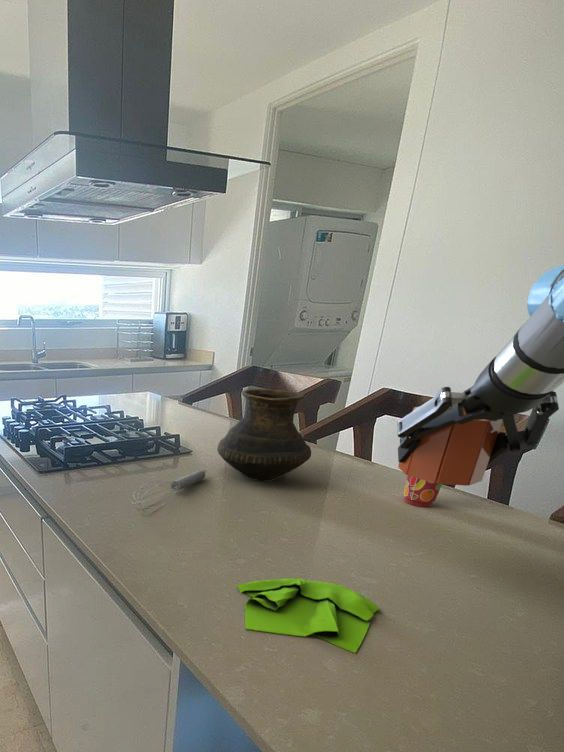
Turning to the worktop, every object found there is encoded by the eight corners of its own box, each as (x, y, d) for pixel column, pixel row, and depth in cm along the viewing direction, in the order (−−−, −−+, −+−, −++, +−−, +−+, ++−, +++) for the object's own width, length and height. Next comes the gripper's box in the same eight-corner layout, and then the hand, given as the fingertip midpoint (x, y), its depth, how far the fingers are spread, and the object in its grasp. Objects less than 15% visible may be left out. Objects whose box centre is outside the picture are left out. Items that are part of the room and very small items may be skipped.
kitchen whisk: (214, 479, 131) (217, 456, 128) (149, 521, 106) (150, 494, 103) (194, 474, 134) (196, 452, 132) (126, 514, 109) (126, 488, 106)
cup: (406, 403, 81) (430, 417, 71) (480, 407, 79) (515, 422, 69) (391, 461, 85) (412, 481, 75) (461, 466, 83) (492, 487, 73)
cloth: (394, 608, 76) (398, 595, 75) (335, 675, 62) (339, 661, 61) (275, 562, 89) (277, 550, 88) (205, 608, 75) (206, 595, 74)
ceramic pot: (315, 472, 138) (331, 391, 128) (291, 498, 119) (308, 406, 110) (233, 457, 150) (242, 383, 141) (200, 478, 131) (208, 394, 122)
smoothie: (406, 493, 123) (428, 415, 115) (442, 503, 117) (469, 421, 109) (392, 501, 118) (414, 419, 110) (429, 512, 112) (456, 426, 104)
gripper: (632, 350, 58) (517, 443, 79) (418, 343, 63) (362, 433, 83) (645, 402, 56) (523, 484, 76) (422, 391, 60) (363, 472, 80)
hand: (439, 457), depth 79 cm, fingers closed on cup, 11 cm apart
